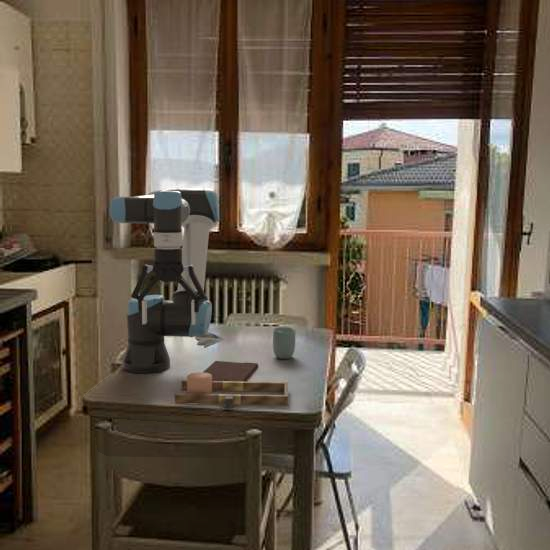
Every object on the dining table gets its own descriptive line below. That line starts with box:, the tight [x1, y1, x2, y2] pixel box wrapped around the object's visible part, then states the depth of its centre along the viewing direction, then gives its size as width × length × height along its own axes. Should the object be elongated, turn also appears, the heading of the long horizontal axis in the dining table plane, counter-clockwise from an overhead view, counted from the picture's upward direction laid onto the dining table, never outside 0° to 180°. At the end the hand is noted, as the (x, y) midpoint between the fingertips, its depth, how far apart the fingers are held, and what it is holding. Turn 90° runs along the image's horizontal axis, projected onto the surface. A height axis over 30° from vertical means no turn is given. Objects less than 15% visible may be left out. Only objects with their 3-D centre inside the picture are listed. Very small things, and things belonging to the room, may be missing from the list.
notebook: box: [203, 360, 259, 382], centre depth 191 cm, size 15×20×2 cm
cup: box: [272, 326, 296, 360], centre depth 210 cm, size 8×8×10 cm
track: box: [174, 380, 289, 409], centre depth 170 cm, size 31×14×2 cm, turn 89°
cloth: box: [194, 331, 225, 349], centre depth 235 cm, size 26×14×2 cm, turn 176°
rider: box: [186, 371, 213, 394], centre depth 171 cm, size 7×7×6 cm
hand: (169, 323), depth 169 cm, fingers open, 13 cm apart
